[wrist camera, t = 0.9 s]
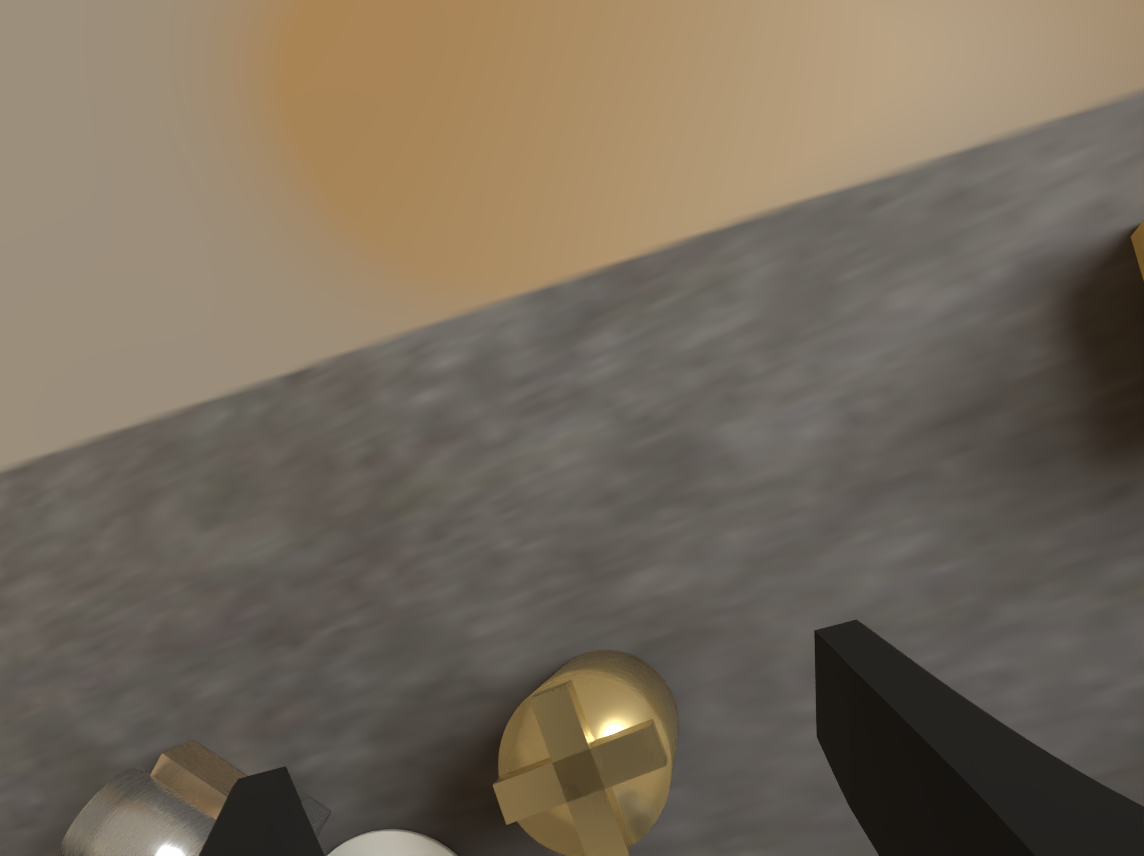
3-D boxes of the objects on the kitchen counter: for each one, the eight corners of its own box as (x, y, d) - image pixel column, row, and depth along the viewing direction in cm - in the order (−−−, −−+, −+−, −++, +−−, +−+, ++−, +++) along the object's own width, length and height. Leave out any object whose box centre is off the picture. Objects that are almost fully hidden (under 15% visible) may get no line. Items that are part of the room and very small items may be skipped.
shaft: (330, 811, 26) (251, 868, 22) (264, 934, 26) (171, 1017, 22) (201, 726, 27) (100, 764, 23) (137, 844, 27) (21, 905, 22)
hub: (700, 766, 25) (697, 835, 19) (568, 815, 25) (527, 896, 19) (647, 629, 25) (628, 656, 20) (518, 678, 26) (464, 719, 20)
